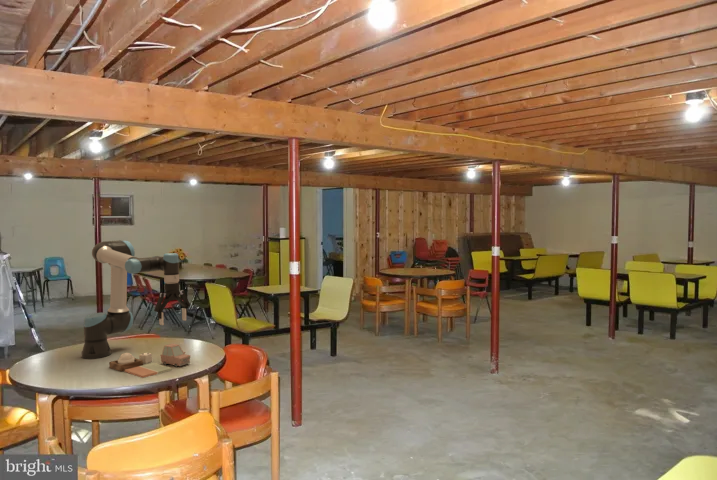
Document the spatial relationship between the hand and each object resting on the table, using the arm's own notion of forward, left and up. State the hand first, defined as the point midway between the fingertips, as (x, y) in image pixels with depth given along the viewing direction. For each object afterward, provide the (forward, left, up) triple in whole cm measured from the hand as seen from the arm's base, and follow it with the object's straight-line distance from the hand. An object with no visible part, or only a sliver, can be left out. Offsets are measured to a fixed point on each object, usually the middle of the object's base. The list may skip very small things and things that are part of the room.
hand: (173, 322), depth 288 cm
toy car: (+1, 0, -23) cm, 23 cm away
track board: (0, -15, -22) cm, 27 cm away
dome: (-16, -18, -21) cm, 32 cm away
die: (-16, -7, -22) cm, 28 cm away
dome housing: (-16, -18, -22) cm, 33 cm away
